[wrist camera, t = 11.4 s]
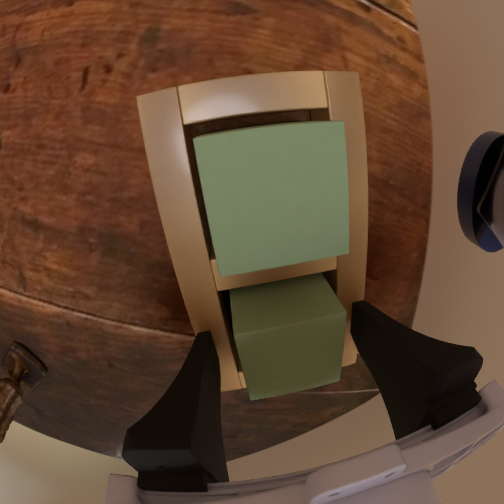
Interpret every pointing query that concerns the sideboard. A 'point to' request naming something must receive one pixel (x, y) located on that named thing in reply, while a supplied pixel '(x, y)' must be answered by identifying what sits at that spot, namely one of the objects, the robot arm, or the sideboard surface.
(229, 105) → the backing frame
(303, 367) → the olive green cubic block
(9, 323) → the sideboard surface
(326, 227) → the green cubic block
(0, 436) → the figurine
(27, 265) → the sideboard surface
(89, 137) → the sideboard surface
